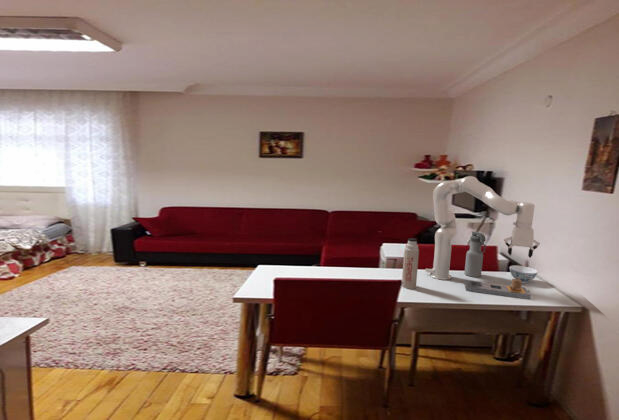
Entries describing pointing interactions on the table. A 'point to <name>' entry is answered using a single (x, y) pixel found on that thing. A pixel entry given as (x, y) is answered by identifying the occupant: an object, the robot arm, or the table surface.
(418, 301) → the table surface
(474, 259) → the water bottle
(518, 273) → the chinaware
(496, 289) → the gray peg board
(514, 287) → the peg
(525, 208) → the robot arm
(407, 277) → the thermos bottle
